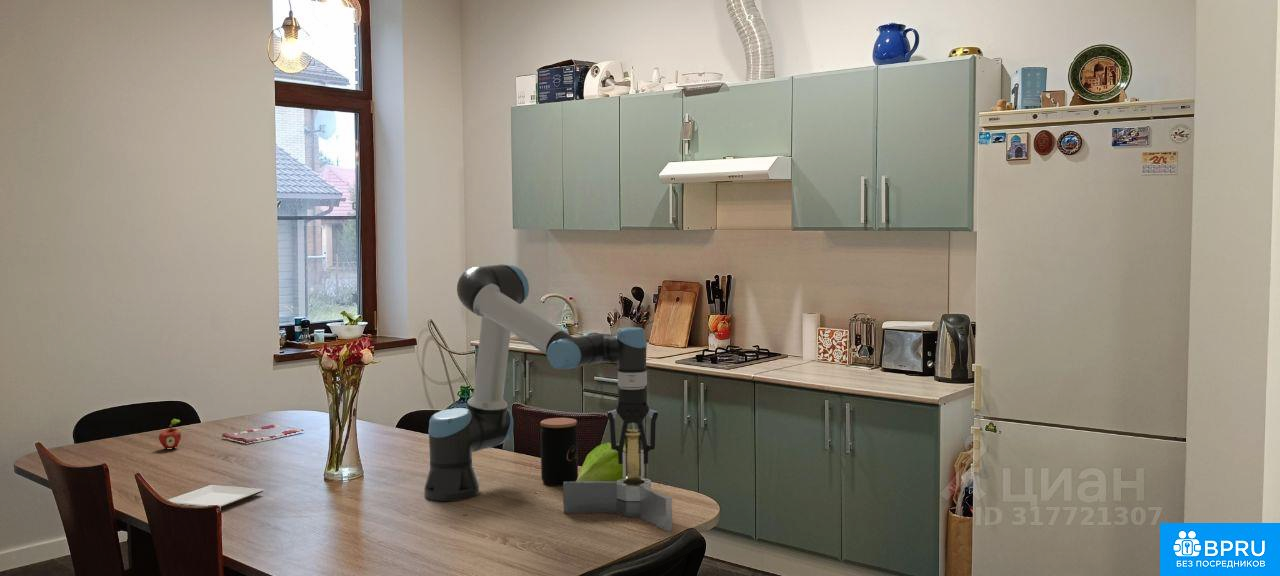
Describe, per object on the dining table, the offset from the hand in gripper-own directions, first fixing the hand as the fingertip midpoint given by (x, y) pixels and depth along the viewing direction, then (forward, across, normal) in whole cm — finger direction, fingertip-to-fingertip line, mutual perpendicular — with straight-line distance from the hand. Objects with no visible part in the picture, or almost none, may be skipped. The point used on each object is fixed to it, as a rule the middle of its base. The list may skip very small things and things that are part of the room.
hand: (633, 475), depth 259 cm
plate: (+10, -117, +12) cm, 118 cm away
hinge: (+10, -4, -6) cm, 12 cm away
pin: (+4, 0, 0) cm, 4 cm away
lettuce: (+10, -8, +18) cm, 22 cm away
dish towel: (+11, -139, +98) cm, 170 cm away
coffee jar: (+10, -23, +31) cm, 40 cm away
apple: (+10, -163, +78) cm, 181 cm away
